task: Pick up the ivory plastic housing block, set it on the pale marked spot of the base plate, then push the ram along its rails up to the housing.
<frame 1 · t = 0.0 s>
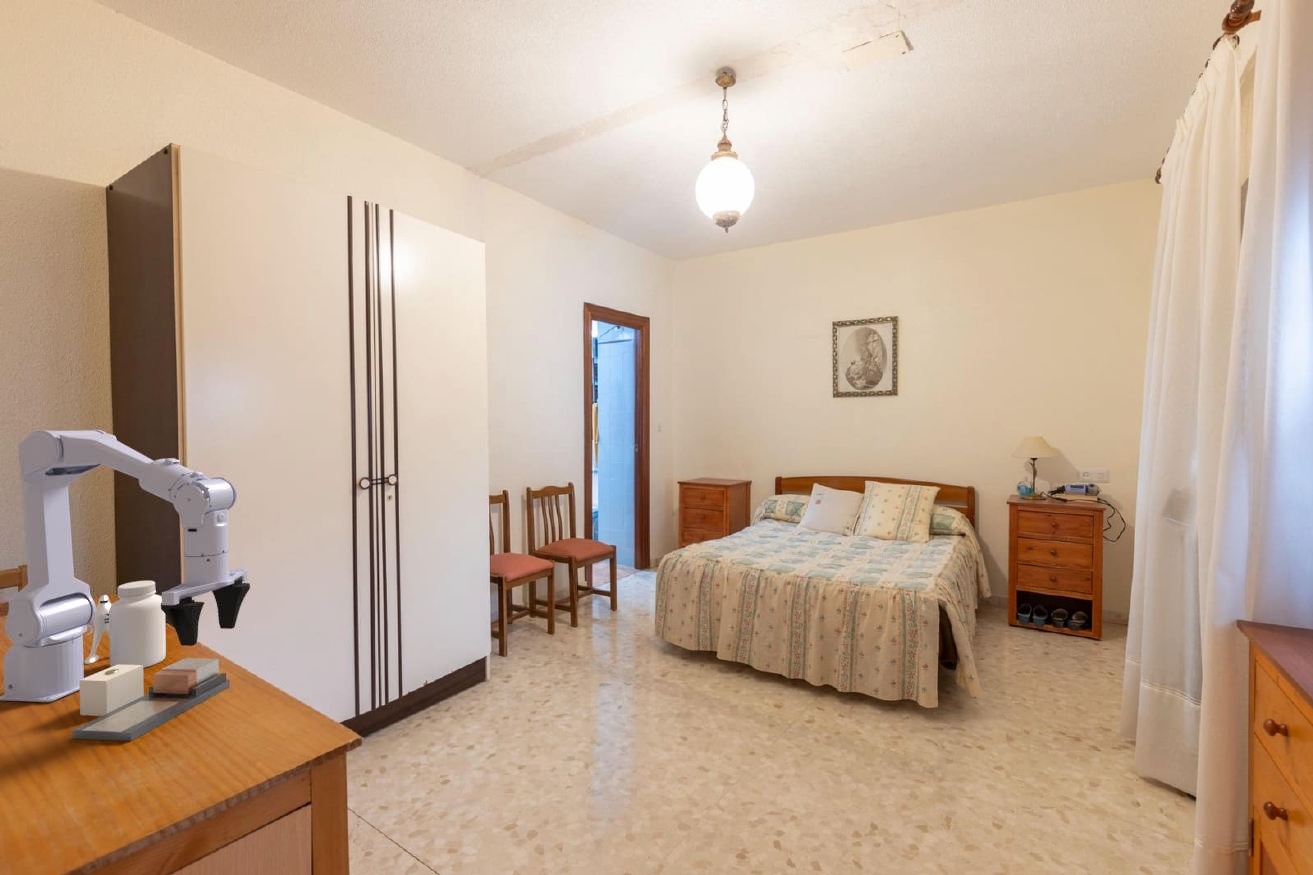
hand: (208, 636, 97), 10 cm above the dresser, tool pointing down, fingers open, 7 cm apart
base plate: (158, 710, 93), on the dresser
pill bottle: (138, 664, 112), on the dresser
ram: (187, 676, 98), point 3 cm above the dresser, slide at 0.0 cm
figurine: (105, 659, 114), on the dresser
housing: (113, 706, 95), on the dresser
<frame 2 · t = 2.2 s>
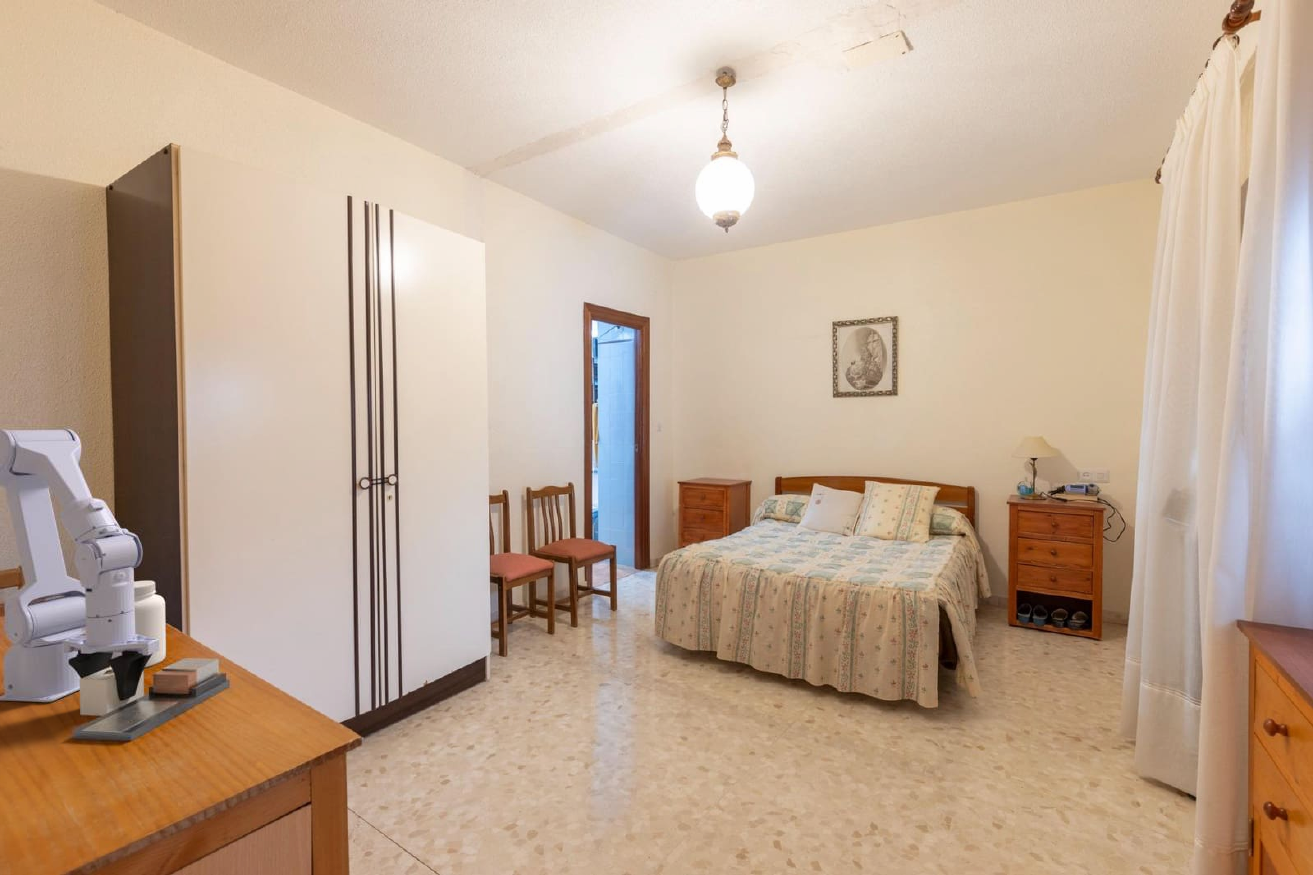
hand: (112, 697, 95), 1 cm above the dresser, tool pointing down, fingers closed on housing, 4 cm apart
housing: (113, 706, 95), on the dresser, touching gripper
everything else where it was.
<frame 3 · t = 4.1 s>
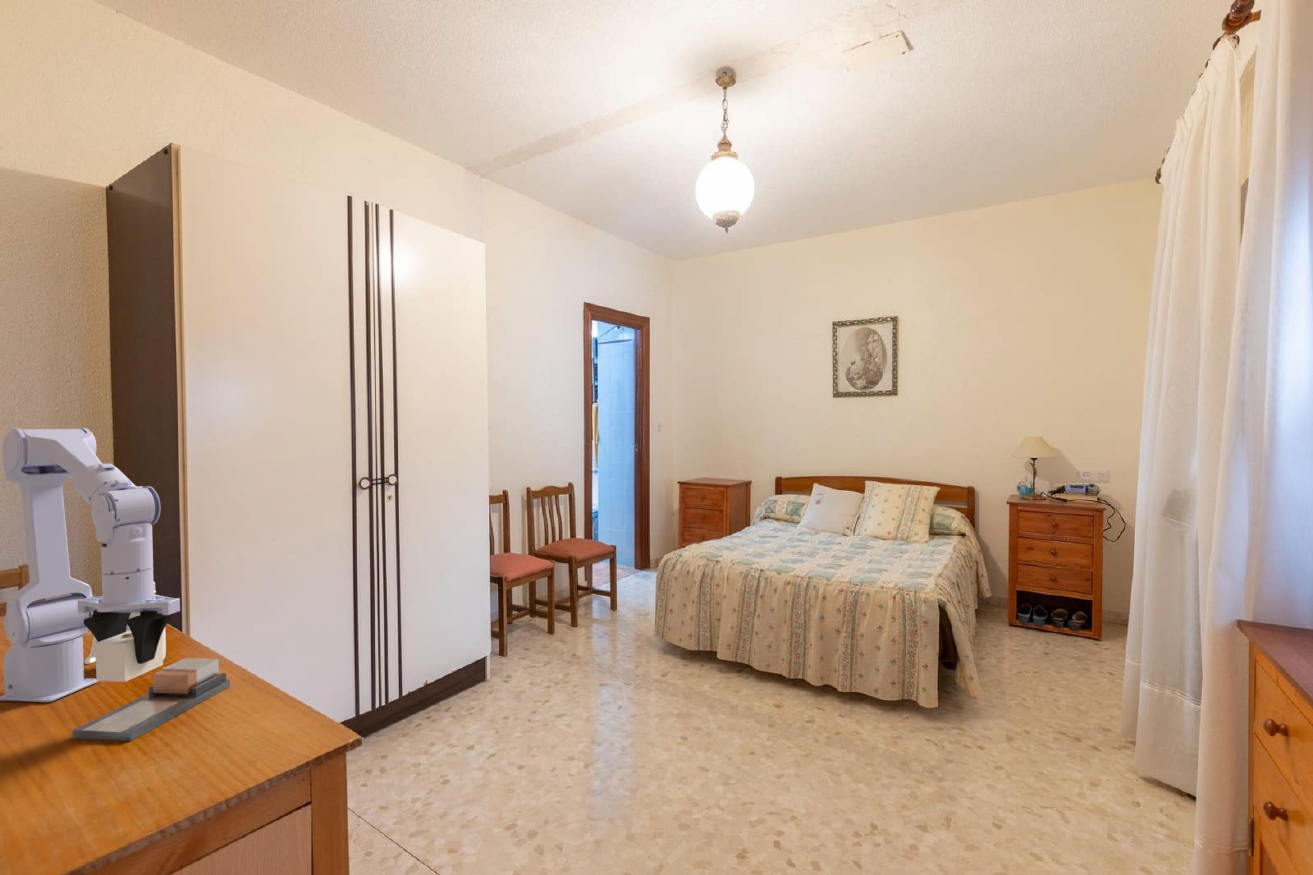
hand: (130, 660, 89), 9 cm above the dresser, tool pointing down, fingers closed on housing, 4 cm apart
housing: (130, 672, 89), point 8 cm above the dresser, touching gripper
everything else where it was.
when the fingers open (4 cm above the dresser, at t = 6.0 s): housing stays where it is, resting on base plate.
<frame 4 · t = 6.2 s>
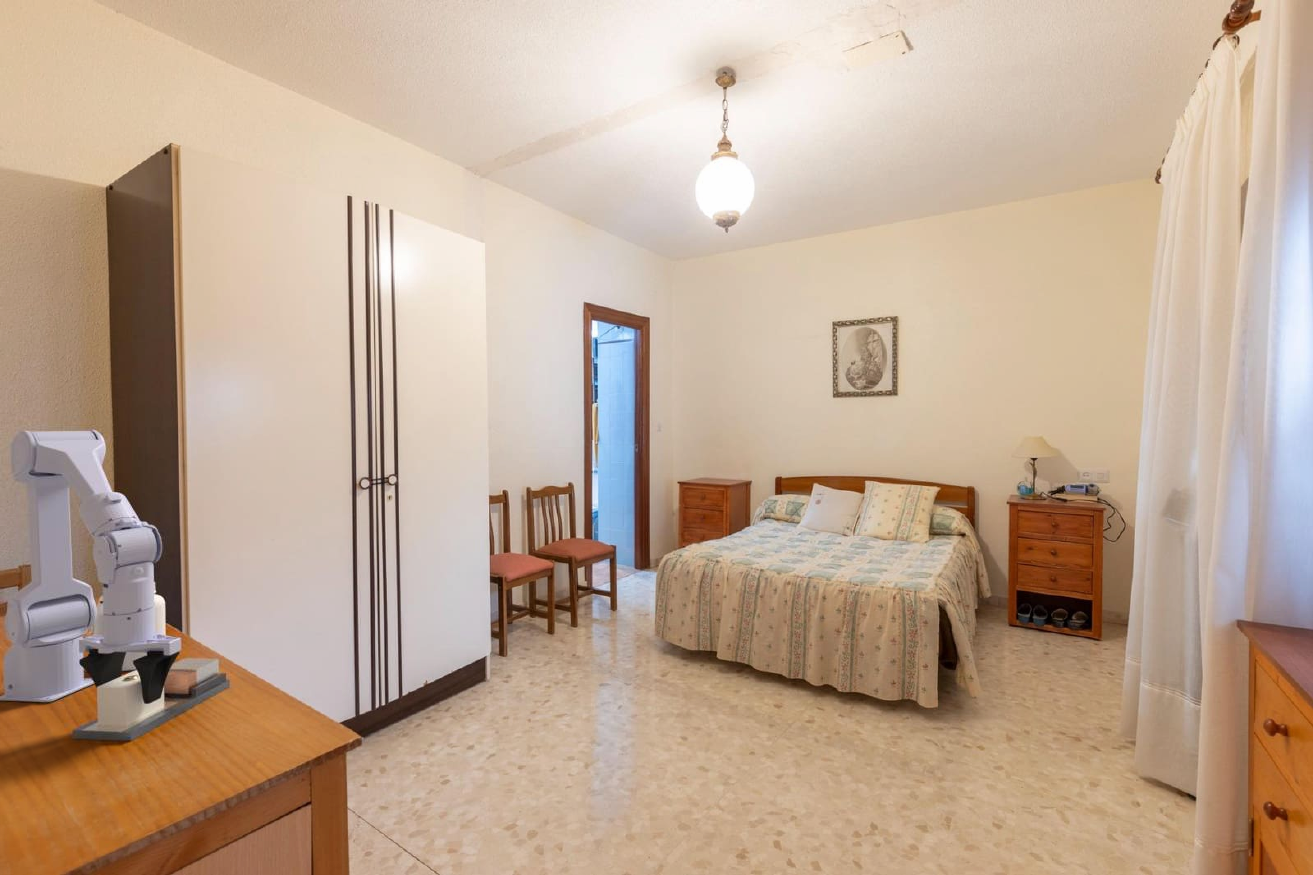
hand: (131, 700, 89), 4 cm above the dresser, tool pointing down, fingers open, 6 cm apart
housing: (132, 715, 89), point 1 cm above the dresser, touching base plate
everything else where it was.
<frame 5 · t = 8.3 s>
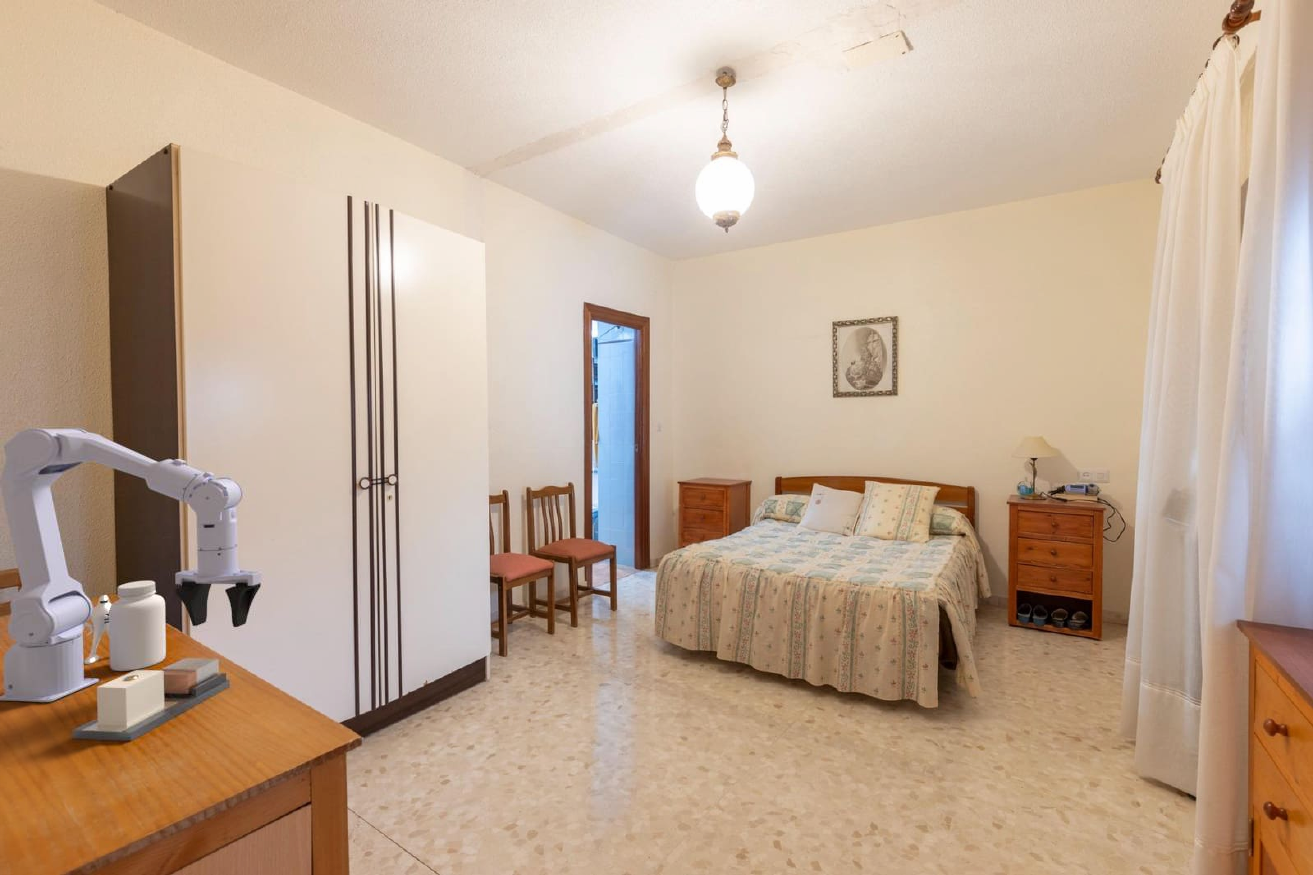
hand: (219, 624, 105), 9 cm above the dresser, tool pointing down, fingers open, 7 cm apart
nothing on the dresser moved.
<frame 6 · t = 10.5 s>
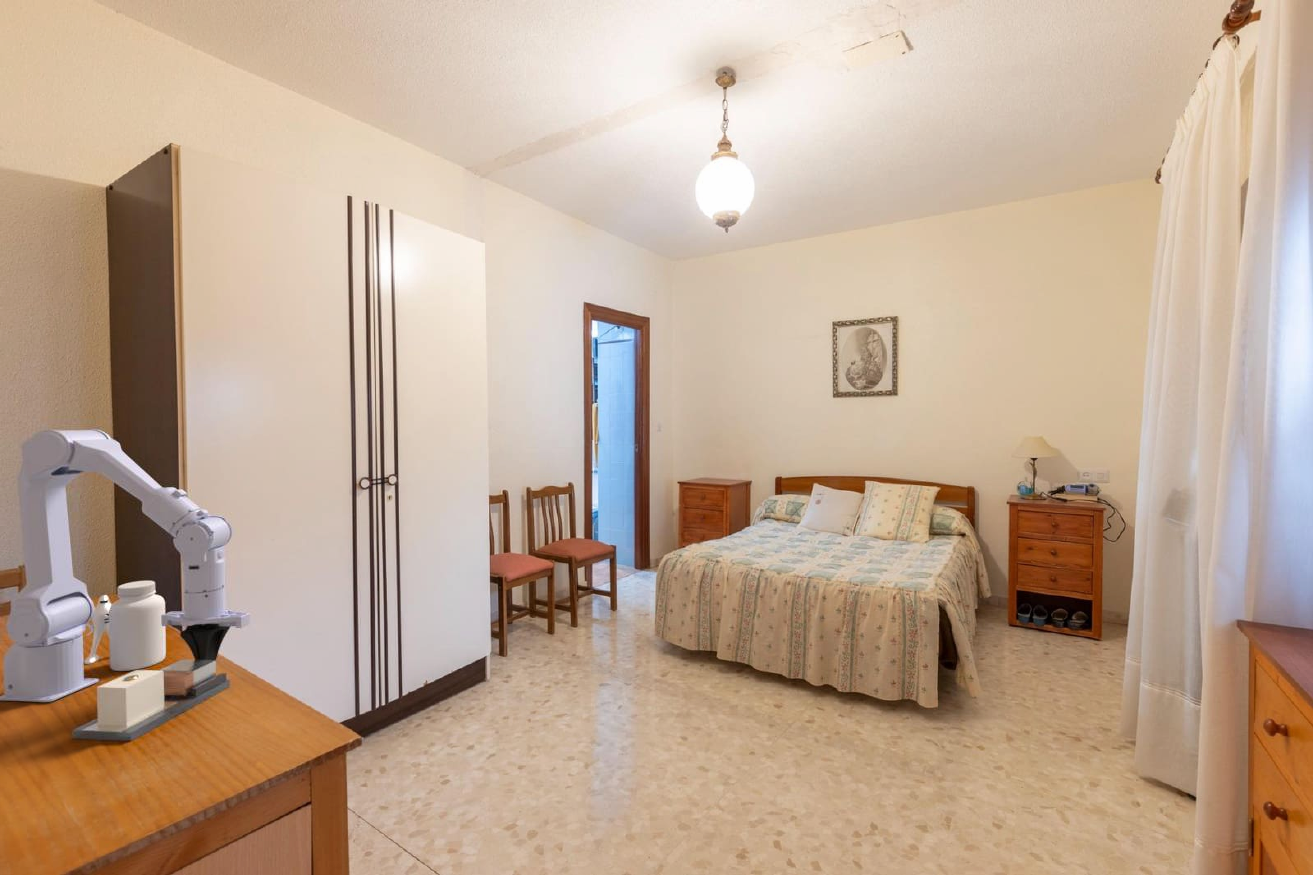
hand: (206, 667, 102), 3 cm above the dresser, tool pointing down, fingers closed, pressing on ram
ram: (183, 677, 98), point 3 cm above the dresser, slide at 0.6 cm, touching gripper
everything else where it was.
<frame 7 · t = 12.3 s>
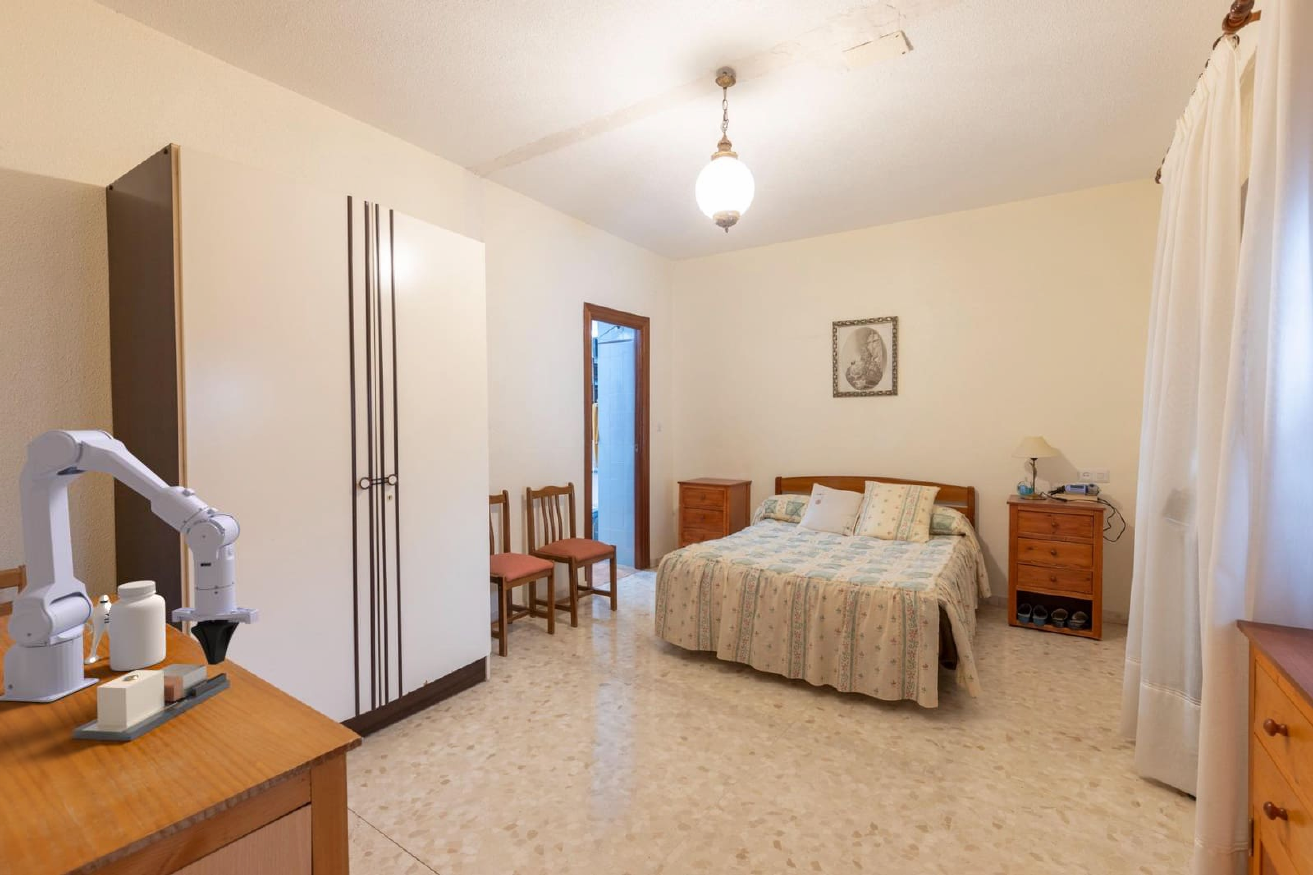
hand: (216, 662, 104), 3 cm above the dresser, tool pointing down, fingers closed
ram: (173, 682, 96), point 3 cm above the dresser, slide at 2.5 cm
everything else where it was.
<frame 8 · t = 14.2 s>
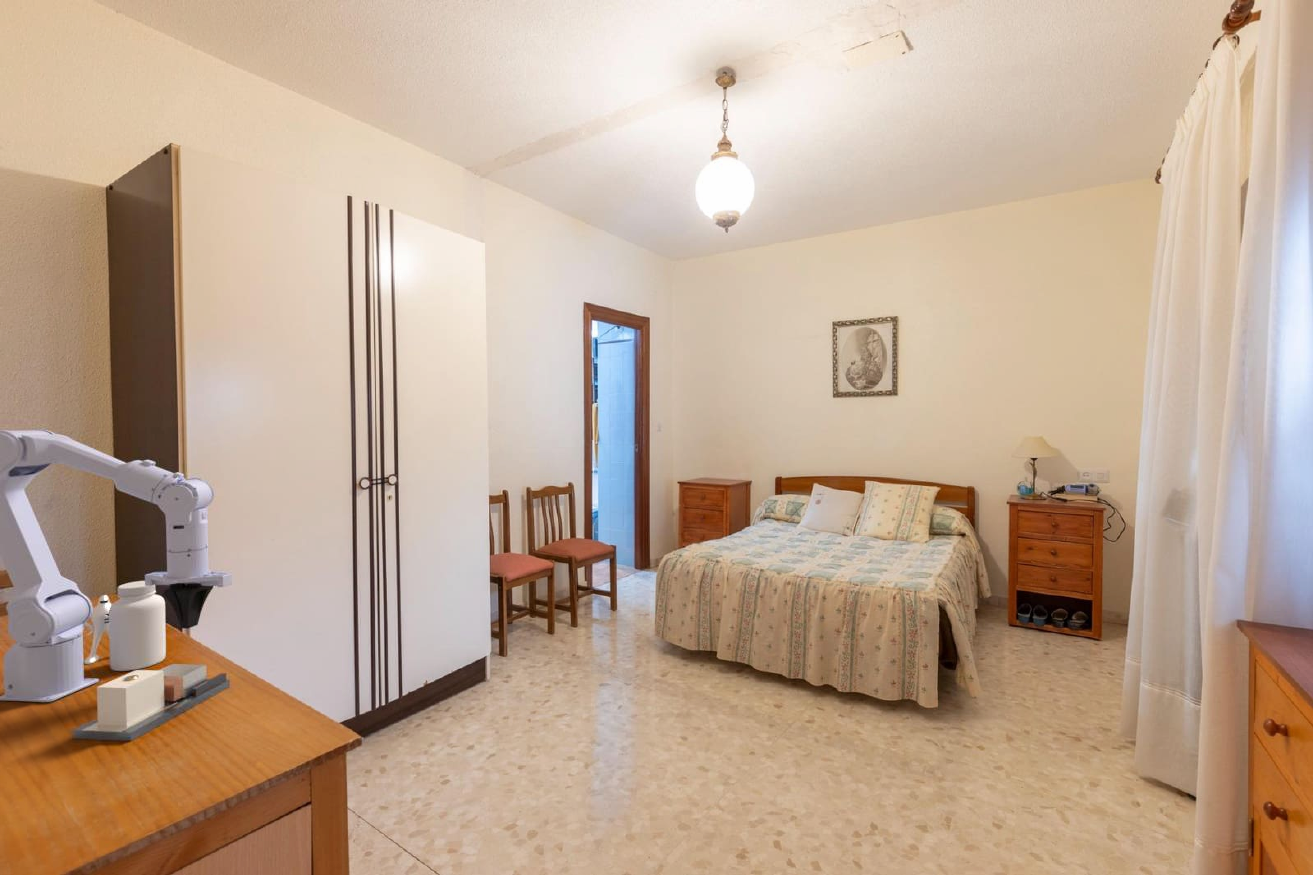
hand: (189, 626, 104), 9 cm above the dresser, tool pointing down, fingers closed
nothing on the dresser moved.
at the end: housing 0.0 cm from the target spot, point 1.3 cm above the dresser; housing tilted 0°; ram slide at 2.5 cm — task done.
